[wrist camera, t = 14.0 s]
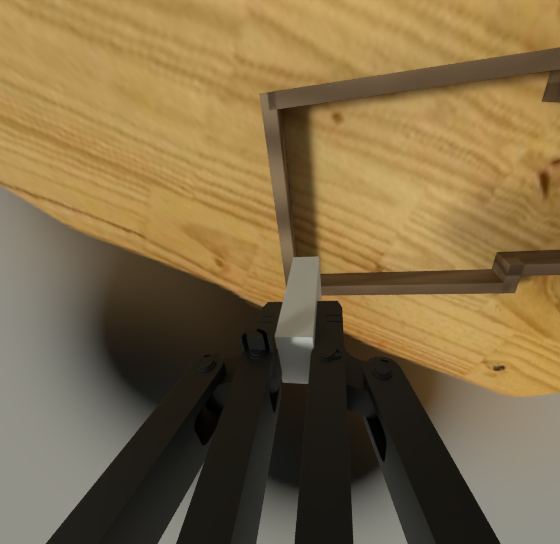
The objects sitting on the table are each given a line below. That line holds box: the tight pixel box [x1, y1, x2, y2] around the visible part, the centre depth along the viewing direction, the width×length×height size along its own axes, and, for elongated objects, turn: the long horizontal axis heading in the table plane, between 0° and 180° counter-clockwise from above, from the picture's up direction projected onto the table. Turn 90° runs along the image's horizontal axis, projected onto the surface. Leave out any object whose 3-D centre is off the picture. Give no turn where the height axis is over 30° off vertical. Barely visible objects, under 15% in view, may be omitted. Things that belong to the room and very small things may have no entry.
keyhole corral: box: [260, 48, 560, 295], centre depth 25 cm, size 19×33×2 cm, turn 97°
